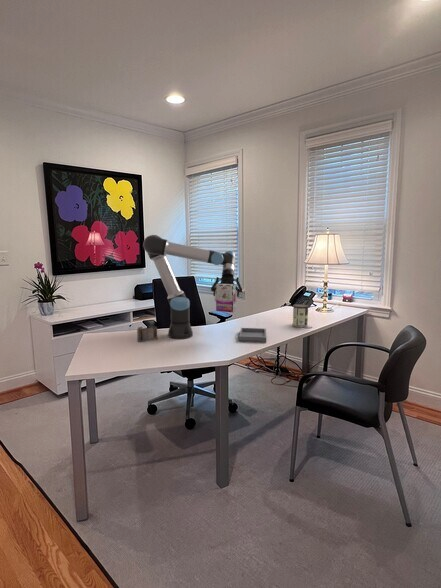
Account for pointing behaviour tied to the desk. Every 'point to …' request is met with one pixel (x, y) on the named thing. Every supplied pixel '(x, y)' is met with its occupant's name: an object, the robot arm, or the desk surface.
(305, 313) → the coffee can
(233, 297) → the candy bar box
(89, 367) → the desk surface
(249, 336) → the tray
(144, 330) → the ruin model on sheet
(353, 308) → the desk surface
